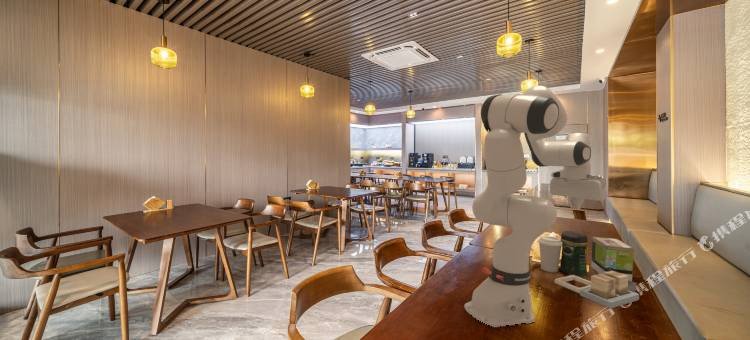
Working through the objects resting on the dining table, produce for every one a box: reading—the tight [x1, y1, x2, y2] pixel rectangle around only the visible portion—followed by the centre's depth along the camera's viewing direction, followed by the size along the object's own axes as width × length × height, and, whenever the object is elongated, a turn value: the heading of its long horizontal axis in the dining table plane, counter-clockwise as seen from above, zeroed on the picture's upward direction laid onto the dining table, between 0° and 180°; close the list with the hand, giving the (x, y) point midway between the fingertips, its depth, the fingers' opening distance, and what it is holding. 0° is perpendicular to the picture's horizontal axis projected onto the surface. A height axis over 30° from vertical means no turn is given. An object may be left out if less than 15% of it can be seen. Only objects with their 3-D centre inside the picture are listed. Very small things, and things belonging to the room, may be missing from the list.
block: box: [604, 271, 628, 296], centre depth 107 cm, size 5×5×8 cm
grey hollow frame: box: [579, 287, 640, 309], centre depth 105 cm, size 16×10×3 cm, turn 112°
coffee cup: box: [537, 235, 563, 273], centre depth 132 cm, size 10×10×15 cm
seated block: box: [590, 273, 616, 300], centre depth 104 cm, size 5×5×8 cm
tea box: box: [591, 236, 635, 282], centre depth 128 cm, size 15×10×15 cm
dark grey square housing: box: [628, 280, 637, 293], centre depth 113 cm, size 7×7×4 cm
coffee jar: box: [559, 230, 589, 277], centre depth 129 cm, size 10×8×19 cm
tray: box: [554, 274, 591, 294], centre depth 115 cm, size 11×10×2 cm
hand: (575, 209), depth 116 cm, fingers closed
